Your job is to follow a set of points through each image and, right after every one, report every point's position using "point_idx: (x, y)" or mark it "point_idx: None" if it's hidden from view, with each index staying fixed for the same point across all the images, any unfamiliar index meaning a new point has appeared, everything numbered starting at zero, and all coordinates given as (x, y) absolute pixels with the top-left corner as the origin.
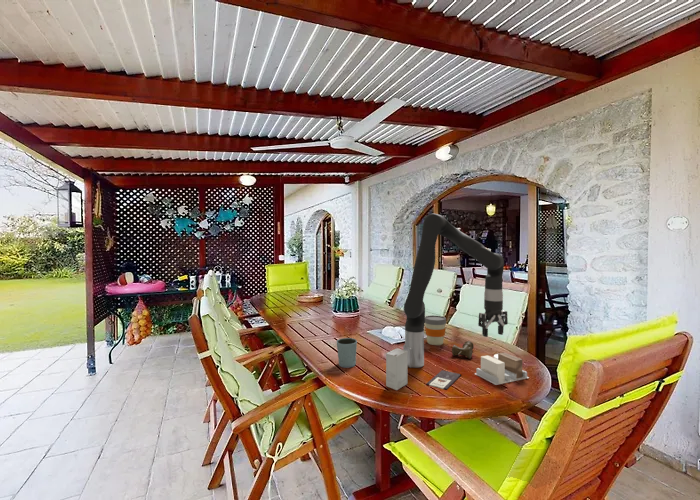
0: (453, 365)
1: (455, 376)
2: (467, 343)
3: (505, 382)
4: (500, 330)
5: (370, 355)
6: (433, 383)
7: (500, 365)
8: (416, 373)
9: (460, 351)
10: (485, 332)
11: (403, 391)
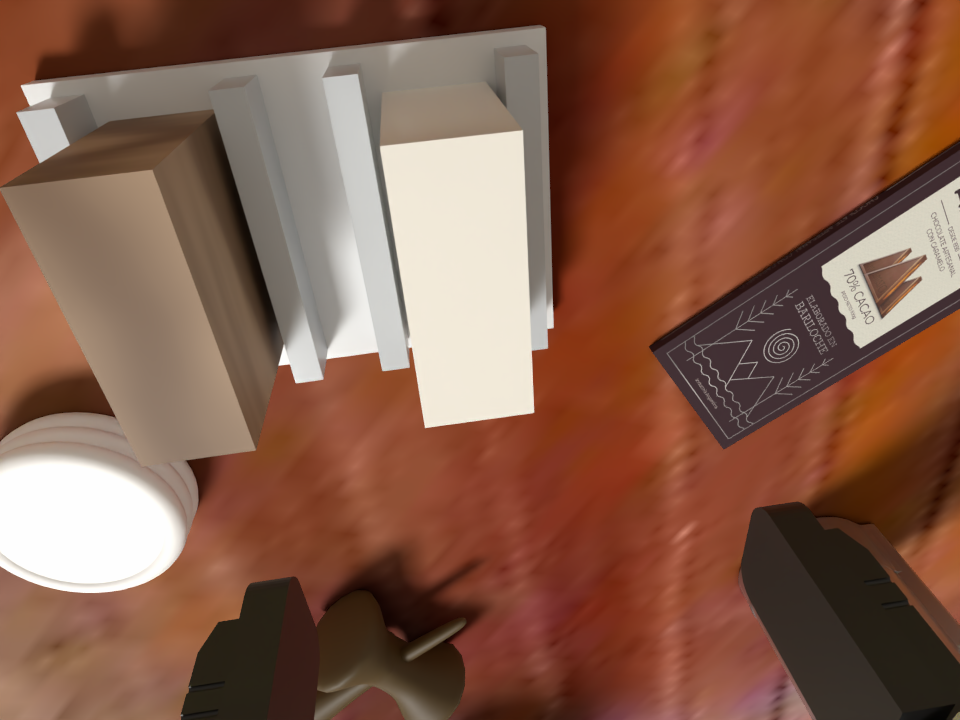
0: (564, 511)
1: (727, 326)
2: None
3: (397, 53)
4: (288, 700)
5: None
6: None
7: (462, 128)
8: (910, 442)
9: (413, 658)
10: (875, 601)
11: None
